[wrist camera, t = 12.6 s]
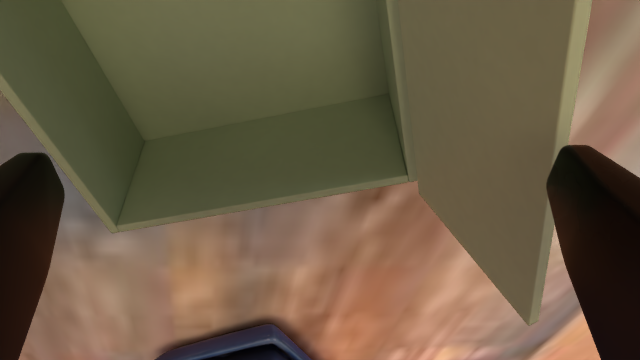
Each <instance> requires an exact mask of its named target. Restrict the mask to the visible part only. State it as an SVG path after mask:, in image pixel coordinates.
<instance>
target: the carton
mask: <svg viewBox="0 0 640 360" xmlns="http://www.w3.org/2000/svg"><path fill="white" fill-rule="evenodd" d="M0 91H1V92H2V93H3V94H4V96H5V97H6V98H7V100H8V101H9V102H10V103H11V105H12V106H13V107H14V109H15V110H16V111H17V112H18V114H19V115H20V116H21V118H22V119H23V120H24V121H25V123H26V124H27V125H28V127H29V128H30V129H31V130H32V132H33V133H34V134H35V136H36V137H37V138H38V139H39V141H40V142H41V143H42V145H43V146H44V147H45V148H46V150H47V151H48V152H49V154H50V155H51V156H52V157H53V159H54V160H55V161H56V163H57V164H58V165H59V166H60V168H61V169H62V170H63V172H64V173H65V174H66V175H67V177H68V178H69V179H70V180H71V182H72V183H73V184H74V186H75V187H76V188H77V189H78V191H79V192H80V193H81V195H82V196H83V197H84V198H85V200H86V201H87V202H88V204H89V205H90V206H91V207H92V209H93V210H94V211H95V213H96V214H97V215H98V216H99V218H100V219H101V220H102V222H103V223H104V224H105V225H106V227H107V228H108V229H109V231H110V232H111V233H117V232H120V231H121V232H123V231H129V230H134V229H140V228H146V227H152V226H158V225H163V224H169V223H175V222H181V221H187V220H192V219H198V218H204V217H210V216H216V215H221V214H227V213H233V212H239V211H245V210H250V209H256V208H262V207H268V206H274V205H279V204H285V203H291V202H297V201H303V200H308V199H314V198H320V197H326V196H332V195H337V194H343V193H349V192H355V191H361V190H366V189H372V188H378V187H384V186H390V185H395V184H401V183H407V182H408V181H409V182H413V181H418V179H417V170H416V161H415V152H414V143H413V134H412V125H411V115H410V106H409V97H408V88H407V79H406V70H405V61H404V51H403V42H402V33H401V24H400V15H399V6H398V0H0Z"/></svg>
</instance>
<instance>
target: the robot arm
mask: <svg viewBox="0 0 640 360" xmlns="http://www.w3.org/2000/svg"><path fill="white" fill-rule="evenodd" d="M546 190H547V195H548V199H549V203H550V207H551V211H552V215H553V219H554V223H555V227H556V231H557V235H558V239H559V243H560V247H561V251H562V255H563V258H564V262H565V265H566V268H567V271H568V274H569V277H570V279H571V282H572V284H573V287H574V290H575V292H576V295H577V298H578V300H579V303H580V305H581V308H582V311H583V313H584V316H585V319H586V321H587V324H588V327H589V329H590V332H591V334H592V337H593V340H594V342H595V345H596V348H597V350H598V353H599V355H600V358H601V360H640V178H639V177H637V176H636V175H634V174H633V173H631V172H630V171H628V170H626V169H625V168H623V167H622V166H620V165H619V164H617V163H615V162H614V161H612V160H611V159H609V158H608V157H606V156H604V155H603V154H601V153H600V152H598V151H597V150H595V149H593V148H592V147H590V146H588V145H566V146H564V147H562V148H561V149H560V151H559V153H558V155H557V157H556V160H555V162H554V164H553V167H552V169H551V171H550V173H549V176H548V178H547V183H546ZM64 195H65V194H64V188H63V185H62V183H61V181H60V179H59V176H58V174H57V172H56V170H55V168H54V166H53V164H52V162H51V160H50V158H49V157H48V156H47V155H46V154H44V153H20V154H18V155H16V156H14V157H13V158H11V159H10V160H8V161H7V162H5V163H4V164H2V165H1V166H0V360H18V359H19V356H20V353H21V350H22V347H23V345H24V342H25V339H26V336H27V333H28V330H29V327H30V325H31V322H32V319H33V316H34V313H35V310H36V307H37V305H38V302H39V299H40V296H41V293H42V290H43V287H44V284H45V281H46V278H47V275H48V271H49V267H50V263H51V258H52V254H53V249H54V245H55V240H56V235H57V231H58V226H59V222H60V217H61V212H62V208H63V203H64Z"/></svg>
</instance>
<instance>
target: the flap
mask: <svg viewBox="0 0 640 360" xmlns="http://www.w3.org/2000/svg"><path fill="white" fill-rule="evenodd" d="M591 5H592V0H398V6H399V15H400V24H401V33H402V42H403V51H404V61H405V70H406V79H407V88H408V97H409V106H410V115H411V125H412V134H413V143H414V152H415V161H416V170H417V179H418V189H419V194H420V195H421V197H422V198H423V199H424V200H425V201H426V203H427V204H428V205H429V206H430V207H431V209H432V210H433V211H434V212H435V213H436V215H437V216H438V217H439V218H440V220H441V221H442V222H443V223H444V224H445V226H446V227H447V228H448V229H449V230H450V232H451V233H452V234H453V235H454V236H455V238H456V239H457V240H458V241H459V242H460V244H461V245H462V246H463V247H464V249H465V250H466V251H467V252H468V253H469V255H470V256H471V257H472V258H473V259H474V261H475V262H476V263H477V264H478V265H479V267H480V268H481V269H482V270H483V272H484V273H485V274H486V275H487V276H488V278H489V279H490V280H491V281H492V282H493V284H494V285H495V286H496V287H497V288H498V290H499V291H500V292H501V293H502V294H503V296H504V297H505V298H506V299H507V301H508V302H509V303H510V304H511V305H512V307H513V308H514V309H515V310H516V311H517V313H518V314H519V315H520V316H521V317H522V319H523V320H524V321H525V322H526V324H527V325H528V326H530V325H532V324H534V323H535V322H537V321H538V319H539V313H540V307H541V301H542V296H543V290H544V284H545V278H546V272H547V266H548V260H549V254H550V248H551V242H552V236H553V230H554V224H555V223H554V219H553V215H552V211H551V207H550V203H549V199H548V195H547V190H546V183H547V178H548V176H549V173H550V171H551V169H552V167H553V164H554V162H555V160H556V157H557V155H558V153H559V151H560V149H561V148H562V147H564V146H566V145H568V142H569V136H570V130H571V124H572V118H573V112H574V106H575V100H576V94H577V88H578V82H579V76H580V70H581V65H582V59H583V53H584V47H585V41H586V35H587V29H588V23H589V17H590V11H591Z"/></svg>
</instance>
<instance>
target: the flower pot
mask: <svg viewBox="0 0 640 360" xmlns="http://www.w3.org/2000/svg"><path fill="white" fill-rule="evenodd" d="M155 360H312V359H311V358H310V357H309V356H307V355H306V354H305V353H304V352H303V351H302V350H301V349H300V348H299V347H298V346H297V345H296V344H295V343H294V342H293V341H292V340H290V339H289V338H288V337H287V336H286V335H285V334H284V333H283V332H282V331H281V330H280V329H278V328H277V327H276V326H275V325H273V324H267V325H262V326H257V327H253V328H249V329H245V330H241V331H237V332H233V333H229V334H226V335H222V336H218V337H215V338H211V339H207V340H204V341H200V342H197V343H193V344H190V345H186V346H183V347H179V348H176V349H173V350H170V351H168V352H166V353H164V354H163V355H161V356H159V357H158V358H156V359H155Z"/></svg>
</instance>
